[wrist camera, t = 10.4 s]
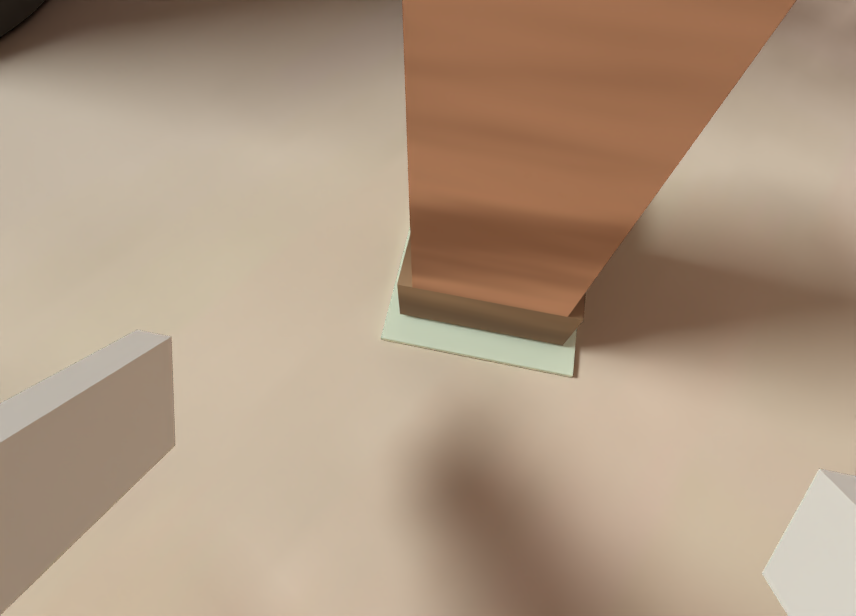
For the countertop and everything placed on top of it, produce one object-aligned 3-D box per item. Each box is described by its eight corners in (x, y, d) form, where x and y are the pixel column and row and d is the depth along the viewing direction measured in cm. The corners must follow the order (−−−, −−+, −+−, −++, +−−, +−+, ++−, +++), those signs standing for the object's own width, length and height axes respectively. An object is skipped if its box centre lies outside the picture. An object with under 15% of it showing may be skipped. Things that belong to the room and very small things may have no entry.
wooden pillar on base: (562, 345, 17) (838, 5, 6) (400, 313, 18) (363, -62, 6) (590, 53, 23) (749, -386, 12) (469, 35, 24) (514, -406, 12)
